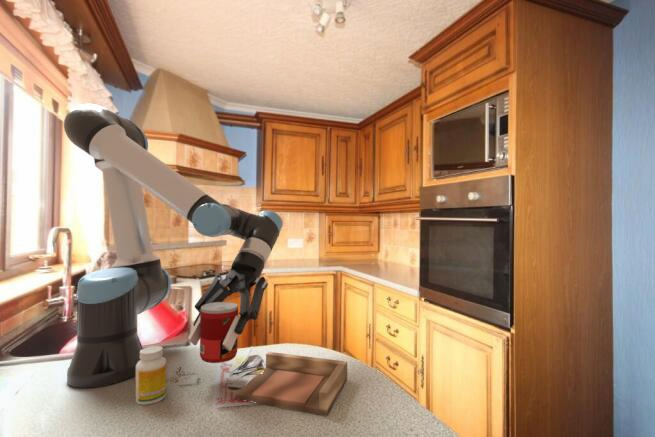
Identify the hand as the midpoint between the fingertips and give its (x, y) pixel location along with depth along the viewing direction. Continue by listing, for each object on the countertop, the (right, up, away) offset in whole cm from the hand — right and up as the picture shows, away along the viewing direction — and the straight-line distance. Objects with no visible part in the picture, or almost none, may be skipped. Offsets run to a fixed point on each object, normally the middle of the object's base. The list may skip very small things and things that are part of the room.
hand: (209, 344), depth 69 cm
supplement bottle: (-10, -9, -4) cm, 14 cm away
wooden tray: (+18, -9, -1) cm, 20 cm away
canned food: (+1, -4, +3) cm, 5 cm away
